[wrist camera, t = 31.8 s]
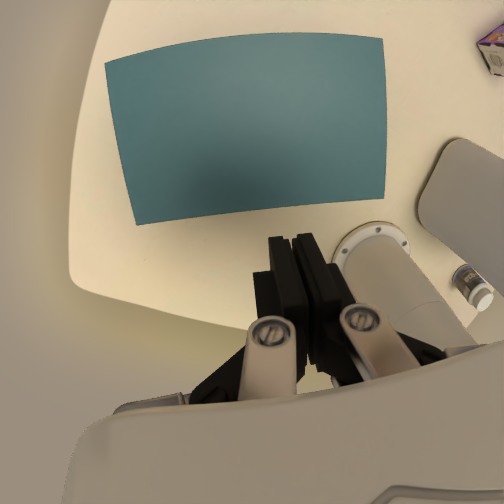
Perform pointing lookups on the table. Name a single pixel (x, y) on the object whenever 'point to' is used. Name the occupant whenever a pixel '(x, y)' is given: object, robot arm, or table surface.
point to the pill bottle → (472, 287)
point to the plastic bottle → (468, 207)
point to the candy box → (494, 51)
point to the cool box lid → (250, 123)
